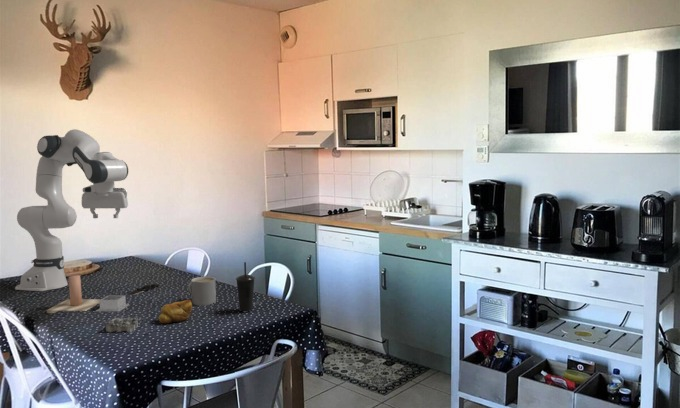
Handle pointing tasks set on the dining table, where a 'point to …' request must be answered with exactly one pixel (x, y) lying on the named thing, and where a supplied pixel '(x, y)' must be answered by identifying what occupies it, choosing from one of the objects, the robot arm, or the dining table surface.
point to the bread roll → (175, 312)
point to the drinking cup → (245, 290)
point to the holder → (113, 303)
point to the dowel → (75, 290)
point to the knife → (143, 289)
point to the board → (67, 307)
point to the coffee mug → (203, 290)
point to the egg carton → (122, 324)
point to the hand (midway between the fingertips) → (105, 218)
